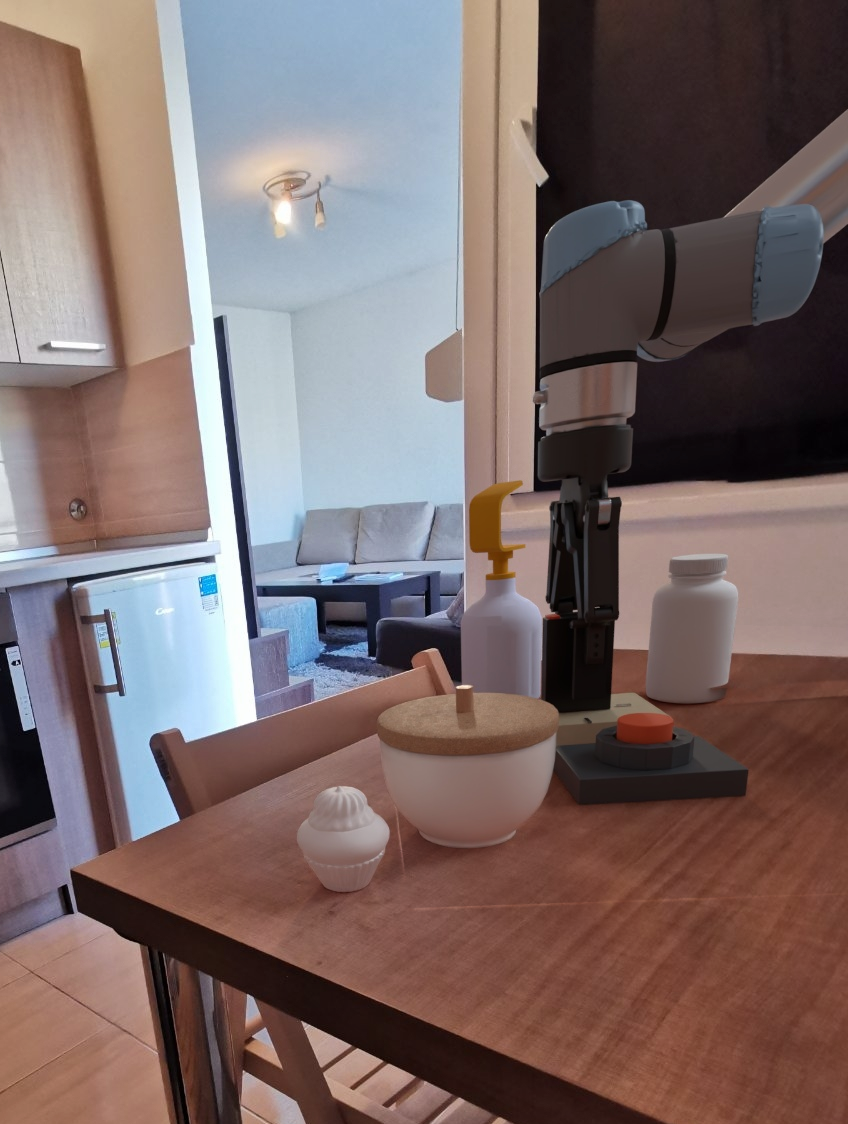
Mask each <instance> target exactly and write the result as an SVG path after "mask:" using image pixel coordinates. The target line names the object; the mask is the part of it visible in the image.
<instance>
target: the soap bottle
mask: <svg viewBox="0 0 848 1124" xmlns="http://www.w3.org/2000/svg"><path fill="white" fill-rule="evenodd" d="M523 485H524V482H523V480H522V479H521V480H520V479H519V480H512V481H505V482H498V483H494V484H492V485H490V486H489V487H486V488H485V489H484V490H482V491H481V492H479V493H477V494H476V495H474V496H473V498H472V499H471V500H470V503H469V507H468V529H469V534H468V535H469V536H468V537H469V540H468V541H469V547H470V551H471V552H472V553H474V554H482V553H483V554H485V553H487V561H492V572H490V573H486V574H485V593H484V595H483V596H482V597H480V599H478V600H476V601H475V602H474V603H472V604H471V605H470V606H468V608H467V609H466V610H465V611H464V612H463V614H462V617H461V621H460V652H461V653H460V656H461V658H460V660H461V685H472V686H473V693H504V694H515V695H523V696H528V697H532V698H536V699H540V698H541V685H542V633H543V617H542V614H541V610H540V609H539V606H537V605H536V604H535V603H534V602H533V601H532V600H531V599H528V598H526V597H524V596H522V595H521V594H520V593H518V592H517V587H516V585H517V584H516V580H517V579H516V571H509V560H511V559H513V558H514V551H517V550H521V549H522V550H523V549H526V544H525V543H521V544H519V543H518V544H503V542H502V504H503V502H504V499H505V498H506V497H507V496H508V495H510V494H511V493H513V492H514V491H516V490H517V489H519V488H520V487H522V486H523Z"/></svg>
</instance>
